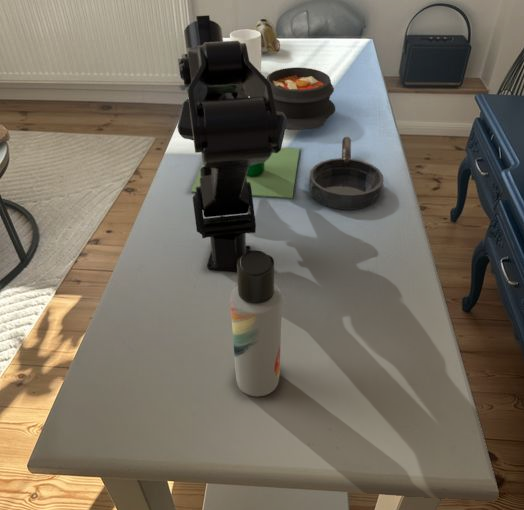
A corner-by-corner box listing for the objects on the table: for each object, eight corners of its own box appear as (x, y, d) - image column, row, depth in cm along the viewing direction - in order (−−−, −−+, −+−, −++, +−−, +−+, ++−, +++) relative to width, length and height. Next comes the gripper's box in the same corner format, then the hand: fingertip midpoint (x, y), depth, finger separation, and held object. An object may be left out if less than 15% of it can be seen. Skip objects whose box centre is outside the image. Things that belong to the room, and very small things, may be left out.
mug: (235, 66, 141) (233, 24, 133) (263, 66, 141) (263, 25, 133) (230, 81, 133) (228, 38, 125) (260, 82, 133) (259, 39, 125)
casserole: (338, 138, 110) (343, 100, 104) (257, 138, 110) (257, 99, 104) (330, 95, 127) (334, 59, 120) (259, 94, 127) (259, 59, 121)
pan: (381, 212, 90) (384, 197, 88) (306, 208, 91) (308, 192, 89) (378, 175, 99) (381, 160, 97) (310, 171, 100) (312, 156, 98)
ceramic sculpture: (282, 10, 147) (279, 29, 137) (282, 42, 153) (279, 62, 144) (247, 10, 147) (242, 28, 138) (248, 42, 154) (244, 61, 145)
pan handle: (350, 167, 98) (351, 159, 96) (341, 167, 98) (342, 158, 97) (350, 143, 105) (351, 135, 103) (341, 143, 105) (342, 135, 104)
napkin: (292, 198, 93) (292, 197, 93) (191, 192, 95) (191, 190, 95) (299, 150, 106) (299, 148, 106) (210, 145, 108) (210, 144, 108)
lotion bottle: (278, 363, 66) (281, 241, 51) (280, 397, 62) (285, 276, 47) (236, 364, 66) (227, 243, 51) (236, 398, 62) (227, 278, 47)
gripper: (285, 60, 73) (301, 107, 89) (175, 48, 78) (208, 95, 93) (269, 134, 74) (287, 168, 90) (160, 117, 79) (196, 153, 94)
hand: (244, 144), depth 91 cm, fingers open, 9 cm apart
